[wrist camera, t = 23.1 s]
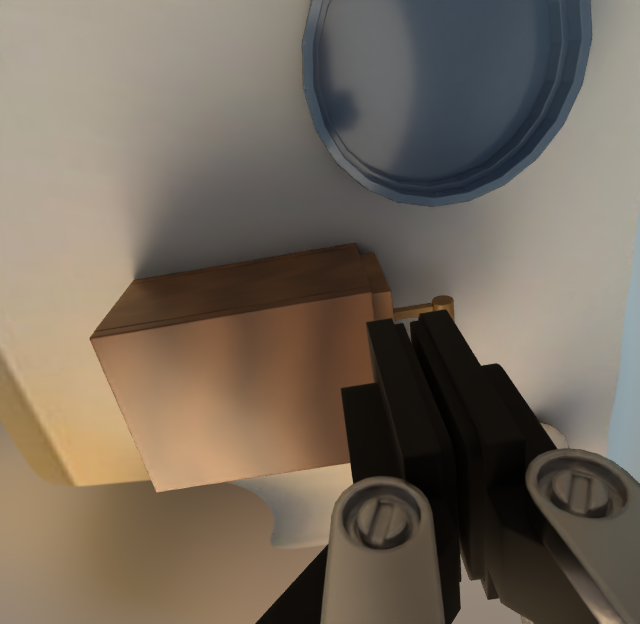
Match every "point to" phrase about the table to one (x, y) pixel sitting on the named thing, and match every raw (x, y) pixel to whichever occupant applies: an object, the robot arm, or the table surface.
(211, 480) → the cabinet
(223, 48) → the table surface
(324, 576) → the robot arm
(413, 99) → the plate
